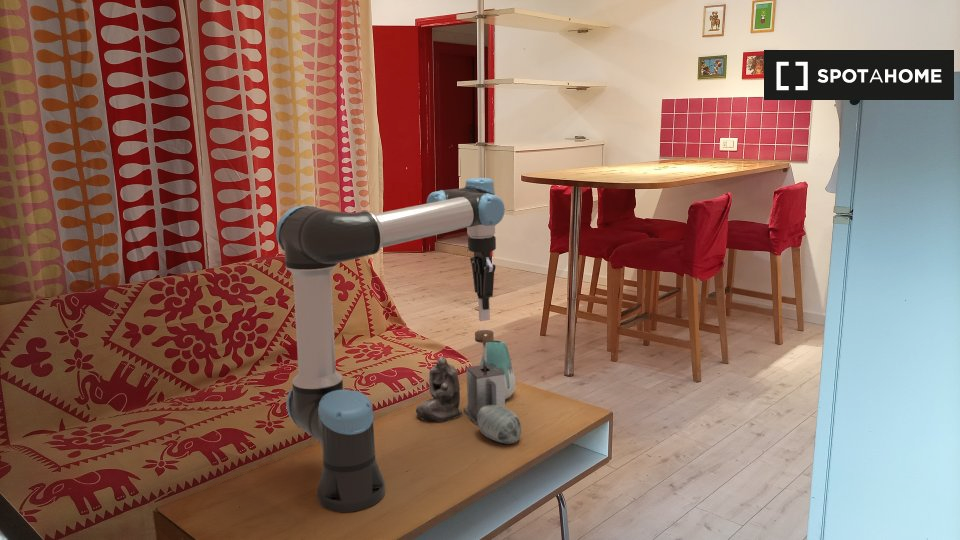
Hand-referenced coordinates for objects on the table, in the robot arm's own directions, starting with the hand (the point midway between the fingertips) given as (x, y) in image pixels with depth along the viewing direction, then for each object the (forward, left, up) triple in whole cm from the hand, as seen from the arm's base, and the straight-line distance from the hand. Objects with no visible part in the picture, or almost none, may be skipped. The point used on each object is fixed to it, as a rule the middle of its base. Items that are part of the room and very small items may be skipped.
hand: (484, 319), depth 200 cm
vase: (+7, +11, -28) cm, 31 cm away
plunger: (0, 0, -17) cm, 17 cm away
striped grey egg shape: (-2, -15, -29) cm, 32 cm away
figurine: (-12, +5, -29) cm, 31 cm away
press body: (0, 0, -28) cm, 28 cm away
